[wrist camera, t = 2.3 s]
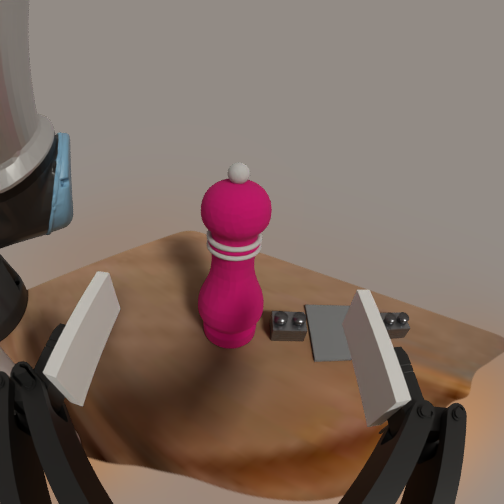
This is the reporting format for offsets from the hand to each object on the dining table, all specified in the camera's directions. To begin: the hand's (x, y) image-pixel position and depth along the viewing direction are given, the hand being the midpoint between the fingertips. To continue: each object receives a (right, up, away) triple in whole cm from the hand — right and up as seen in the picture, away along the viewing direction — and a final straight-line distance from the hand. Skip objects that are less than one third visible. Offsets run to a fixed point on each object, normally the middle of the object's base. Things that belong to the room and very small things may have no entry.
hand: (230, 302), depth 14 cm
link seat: (+13, -8, +19) cm, 24 cm away
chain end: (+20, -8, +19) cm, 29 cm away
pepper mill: (-2, -7, +18) cm, 20 cm away
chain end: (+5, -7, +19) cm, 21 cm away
